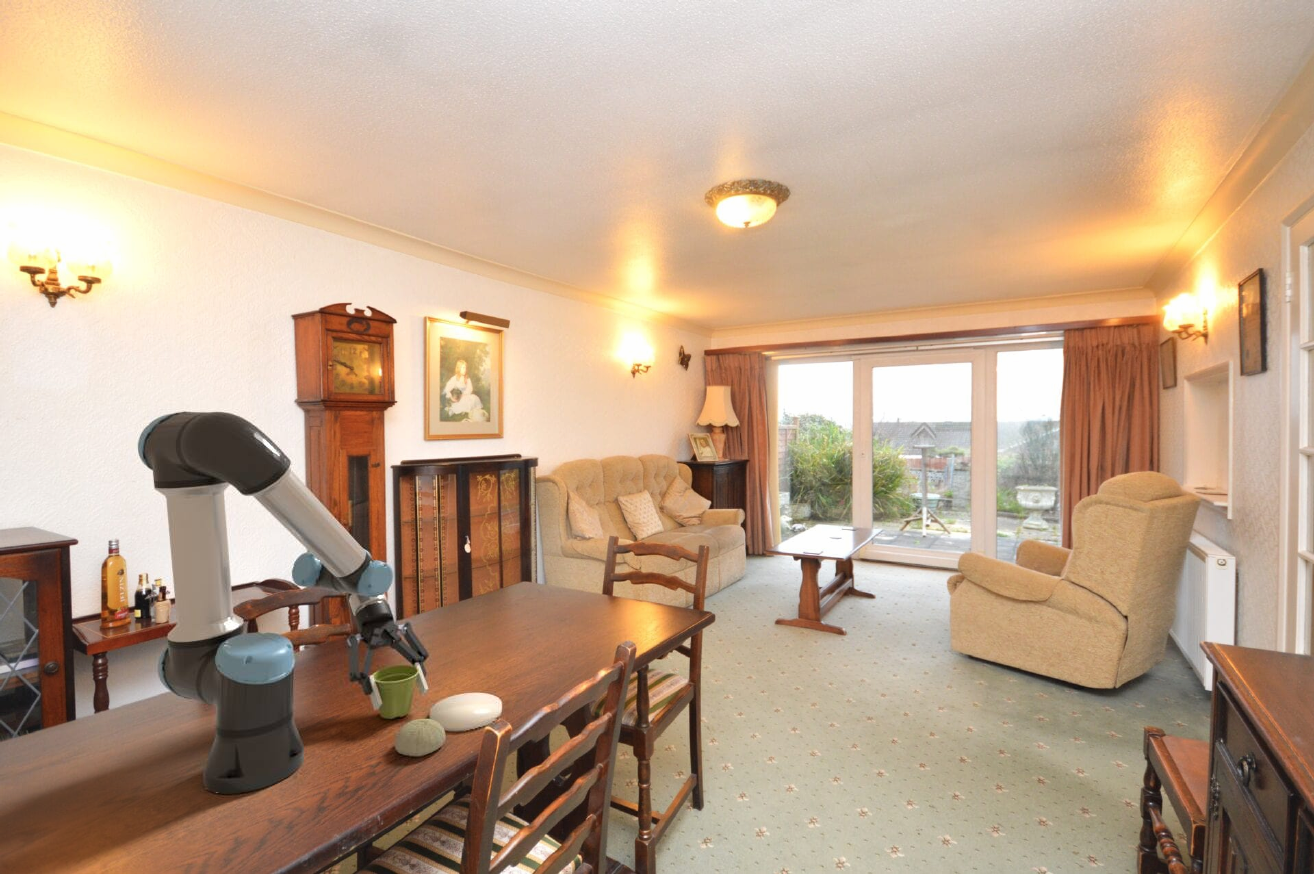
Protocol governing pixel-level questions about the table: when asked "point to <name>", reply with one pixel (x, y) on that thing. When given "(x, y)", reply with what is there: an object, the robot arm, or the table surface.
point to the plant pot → (396, 689)
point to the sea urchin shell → (420, 737)
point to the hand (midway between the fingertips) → (402, 699)
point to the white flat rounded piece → (466, 711)
